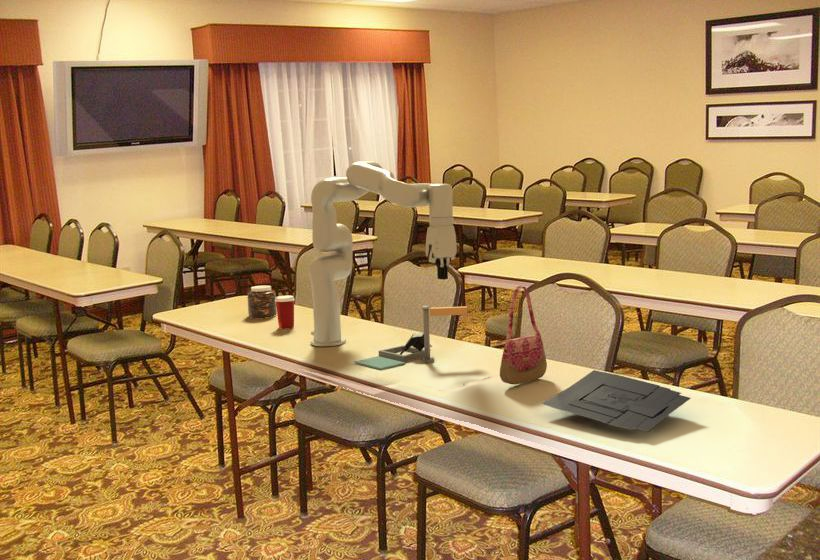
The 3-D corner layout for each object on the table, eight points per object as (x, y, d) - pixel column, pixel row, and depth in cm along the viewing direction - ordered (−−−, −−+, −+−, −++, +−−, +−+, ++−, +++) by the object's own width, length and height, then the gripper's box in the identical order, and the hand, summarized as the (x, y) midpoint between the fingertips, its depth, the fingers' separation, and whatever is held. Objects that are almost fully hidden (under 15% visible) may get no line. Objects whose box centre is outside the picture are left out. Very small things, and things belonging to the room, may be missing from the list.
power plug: (399, 349, 293) (418, 326, 287) (417, 362, 294) (437, 338, 288) (396, 358, 288) (415, 334, 282) (414, 371, 289) (434, 347, 283)
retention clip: (467, 319, 280) (466, 304, 280) (467, 321, 278) (467, 305, 277) (422, 321, 280) (421, 306, 280) (422, 323, 278) (421, 307, 277)
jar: (278, 319, 371) (276, 284, 369) (275, 324, 359) (273, 288, 357) (250, 320, 370) (248, 285, 368) (247, 325, 358) (244, 289, 356)
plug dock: (378, 356, 291) (376, 305, 289) (403, 351, 298) (401, 300, 296) (417, 365, 276) (415, 311, 274) (443, 359, 283) (441, 306, 281)
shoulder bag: (506, 387, 246) (504, 290, 242) (499, 385, 248) (496, 289, 244) (547, 376, 256) (545, 283, 252) (540, 375, 258) (538, 282, 255)
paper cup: (300, 330, 342) (298, 295, 340) (287, 334, 335) (285, 298, 333) (285, 329, 346) (283, 294, 344) (272, 333, 340) (270, 297, 338)
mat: (354, 363, 283) (354, 361, 283) (378, 358, 289) (378, 356, 289) (381, 370, 272) (380, 368, 272) (405, 364, 279) (405, 362, 278)
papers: (643, 445, 203) (642, 431, 202) (541, 413, 224) (540, 400, 223) (695, 404, 219) (695, 391, 217) (595, 378, 240) (594, 366, 239)
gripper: (450, 220, 286) (451, 275, 289) (416, 223, 276) (417, 280, 279) (466, 221, 280) (467, 277, 283) (431, 224, 271) (433, 282, 273)
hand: (442, 278), depth 281 cm, fingers closed
